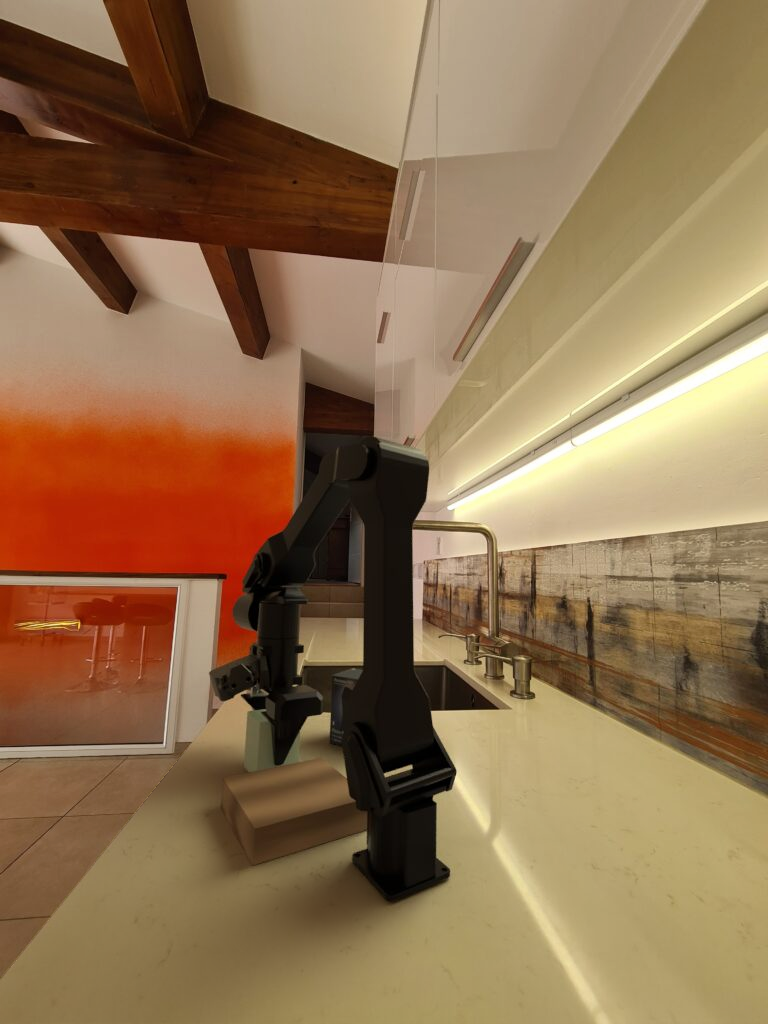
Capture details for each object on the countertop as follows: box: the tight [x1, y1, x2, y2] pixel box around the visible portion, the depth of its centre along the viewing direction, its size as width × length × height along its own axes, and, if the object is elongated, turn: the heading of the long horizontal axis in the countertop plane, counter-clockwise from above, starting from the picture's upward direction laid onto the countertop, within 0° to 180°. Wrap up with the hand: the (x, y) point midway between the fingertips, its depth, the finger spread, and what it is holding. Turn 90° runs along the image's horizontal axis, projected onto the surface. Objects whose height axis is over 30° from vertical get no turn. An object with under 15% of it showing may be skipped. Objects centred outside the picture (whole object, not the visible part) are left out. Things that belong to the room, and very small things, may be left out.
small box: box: [328, 667, 363, 747], centre depth 71 cm, size 11×6×10 cm, turn 62°
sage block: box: [243, 709, 301, 773], centre depth 61 cm, size 6×6×7 cm
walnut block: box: [220, 757, 367, 866], centre depth 48 cm, size 12×12×3 cm
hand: (271, 757), depth 60 cm, fingers closed on sage block, 5 cm apart
